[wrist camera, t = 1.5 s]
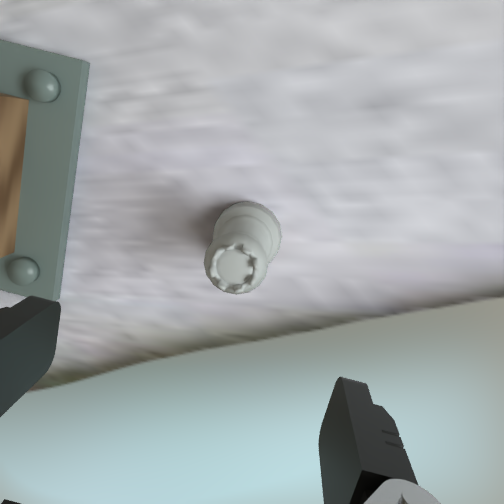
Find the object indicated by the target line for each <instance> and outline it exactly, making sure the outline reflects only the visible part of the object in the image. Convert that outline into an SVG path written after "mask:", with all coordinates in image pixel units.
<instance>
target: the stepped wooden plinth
mask: <svg viewBox="0 0 504 504" xmlns="http://www.w3.org/2000/svg"><path fill="white" fill-rule="evenodd" d="M28 106H29V100H27V99H23V98H19V97H16V96H12V95H8V94H4V93H0V258H2V257H4V256H7V255H9V254H11V253H14V251H15V241H16V230H17V220H18V210H19V199H20V189H21V179H22V168H23V158H24V147H25V137H26V127H27V116H28Z"/></svg>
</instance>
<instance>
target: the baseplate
mask: <svg viewBox="0 0 504 504" xmlns="http://www.w3.org/2000/svg"><path fill="white" fill-rule="evenodd" d="M89 66H90V63H88V62H86V61H83V60H79V59H75V58H71V57H67V56H63V55H59V54H55V53H51V52H47V51H43V50H39V49H35V48H31V47H27V46H24V45H20V44H16V43H12V42H8V41H4V40H0V93H4V94H8V95H12V96H16V97H19V98H23V99H27V100H29V106H28V116H27V127H26V137H25V147H24V158H23V168H22V179H21V189H20V199H19V210H18V220H17V230H16V241H15V251H14V253H11V254H9V255H7V256H4V257H2V258H0V290H2V291H6V292H10V293H14V294H18V295H22V296H25V297H29V296H32V295H33V296H37V297H41V298H45V299H48V300H52V301H56V300H58V299H59V298H60V290H61V282H62V275H63V267H64V259H65V251H66V244H67V236H68V228H69V221H70V213H71V205H72V197H73V190H74V182H75V174H76V167H77V159H78V151H79V144H80V136H81V128H82V120H83V113H84V105H85V97H86V90H87V82H88V74H89Z"/></svg>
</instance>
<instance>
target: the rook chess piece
mask: <svg viewBox="0 0 504 504" xmlns="http://www.w3.org/2000/svg"><path fill="white" fill-rule="evenodd" d="M281 239H282V233H281V228H280V223H279V221H278V220H277V218H276V217H275V215H274V214H273V212H272V211H270V210H269V209H267V208H266V207H264V206H263V205H261V204H258V203H253V202H248V201H247V202H242V203H236V204H233V205H232V206H230V207H229V208H227V209H226V210H224V211H223V212H222V214H221V215H220V217H219V218H218V220H217V221H216V224H215V226H214V232H213V241H212V243H211V244H210V246H209V247H208V249H207V250H206V253H205V259H204V266H205V270H206V275H207V276H208V278H209V279H210V281H211V282H212V283H213V285H214V286H216V287H217V288H219V289H220V290H222V291H223V292H227V293H232V294H242V293H248V292H250V291H252V290H253V289H255V288H256V287H258V286H259V285H260V284H261V282H262V281H263V279H264V278H265V277H266V273H267V268H268V264H269V263H270V262H271V261H272V259H273V258H274V257H275V255H276V254H277V252H278V250H279V248H280V243H281Z"/></svg>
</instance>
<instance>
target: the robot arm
mask: <svg viewBox="0 0 504 504" xmlns="http://www.w3.org/2000/svg"><path fill="white" fill-rule="evenodd" d="M60 313H61V306H60V303H59V302H56V301H52V300H48V299H45V298H41V297H37V296H33V295H32V296H29V297H27V298H25V299H24V300H22V301H21V302H19V303H17V304H16V305H14V306H12V307H11V308H9V307H4V308H1V309H0V417H1V416H2V415H3V414H4V413H5V412H6V411H7V410H8V409H9V408H10V407H11V406H12V405H13V404H14V403H15V402H16V401H17V400H18V399H20V398H21V397H22V396H23V395H24V394H25V393H26V392H27V391H28V390H29V389H30V388H31V387H32V386H33V385H34V384H35V383H36V382H37V381H38V380H39V379H40V378H41V377H42V376H43V375H44V374H45V373H46V372H47V371H48V369H49V367H50V365H51V363H52V361H53V358H54V355H55V350H56V343H57V335H58V328H59V320H60ZM403 447H404V446H403V443H402V440H401V437H399V432H398V429H397V427H396V424H395V421H394V420H393V418H392V417H391V416H390V415H389V414H388V413H387V411H386V410H385V409H384V408H383V407H382V406H379V405H375V404H373V402H372V399H371V395H370V392H369V389H368V386H367V384H366V383H362V382H359V381H355V380H351V379H347V378H343V377H339V378H338V379H337V381H336V383H335V387H334V389H333V392H332V395H331V398H330V401H329V404H328V408H327V410H326V413H325V416H324V419H323V422H322V425H321V430H320V435H319V456H320V466H321V477H322V487H323V497H324V504H440V503H439V502H438V500H437V499H436V498H435V497H434V496H433V495H432V494H430V493H429V492H428V491H426V490H425V489H423V488H421V487H420V486H418V483H417V480H416V478H415V475H414V472H413V470H412V467H411V464H410V461H409V459H408V456H407V453H406V451H405V449H403ZM1 504H20V503H17V502H13V501H9V500H5V499H4V501H3V502H2V503H1Z"/></svg>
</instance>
